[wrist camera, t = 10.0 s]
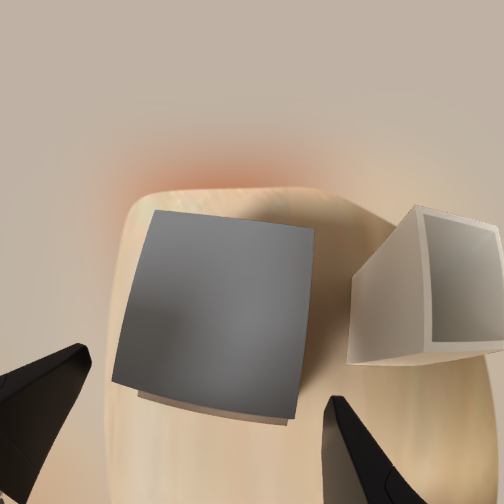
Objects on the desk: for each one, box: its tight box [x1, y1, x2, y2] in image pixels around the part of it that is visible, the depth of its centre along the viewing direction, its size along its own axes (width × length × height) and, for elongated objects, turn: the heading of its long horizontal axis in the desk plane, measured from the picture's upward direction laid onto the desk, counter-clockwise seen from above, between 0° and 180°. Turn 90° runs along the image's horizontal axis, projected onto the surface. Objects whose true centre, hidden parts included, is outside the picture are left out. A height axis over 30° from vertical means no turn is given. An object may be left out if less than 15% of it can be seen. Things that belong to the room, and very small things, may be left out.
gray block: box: [112, 210, 315, 419], centre depth 13 cm, size 8×7×4 cm
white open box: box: [346, 205, 504, 366], centre depth 14 cm, size 6×6×10 cm
